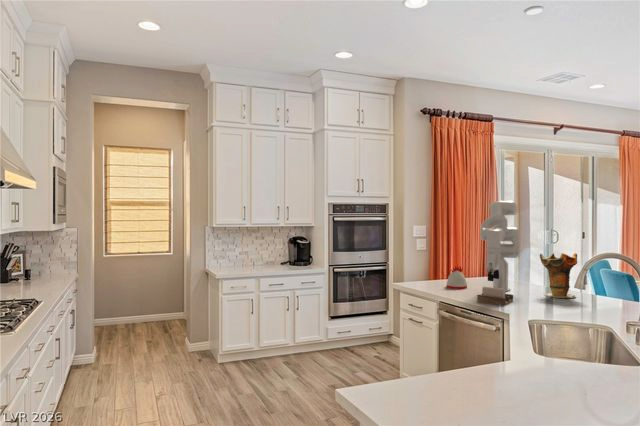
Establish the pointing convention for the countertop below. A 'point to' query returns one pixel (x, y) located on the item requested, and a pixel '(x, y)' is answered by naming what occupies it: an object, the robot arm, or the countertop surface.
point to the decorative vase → (559, 274)
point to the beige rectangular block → (493, 292)
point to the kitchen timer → (456, 279)
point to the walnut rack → (495, 299)
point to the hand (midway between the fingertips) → (493, 279)
